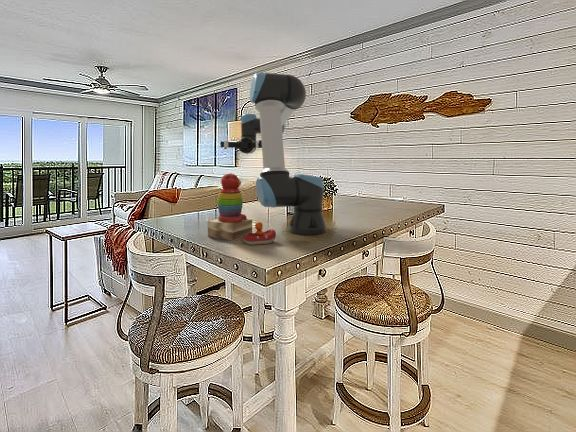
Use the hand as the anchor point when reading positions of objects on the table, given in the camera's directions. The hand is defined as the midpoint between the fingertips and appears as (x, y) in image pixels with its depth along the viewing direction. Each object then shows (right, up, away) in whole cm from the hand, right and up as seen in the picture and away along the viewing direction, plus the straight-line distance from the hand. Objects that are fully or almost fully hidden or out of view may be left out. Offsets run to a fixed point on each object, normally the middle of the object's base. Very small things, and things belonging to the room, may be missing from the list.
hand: (240, 144), depth 154 cm
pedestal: (-2, -38, -15) cm, 41 cm away
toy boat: (+10, -40, -25) cm, 48 cm away
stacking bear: (-2, -32, -16) cm, 36 cm away
